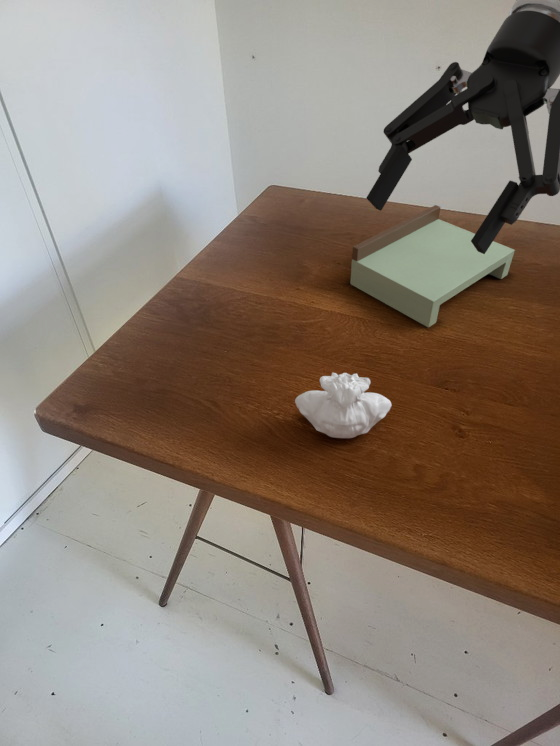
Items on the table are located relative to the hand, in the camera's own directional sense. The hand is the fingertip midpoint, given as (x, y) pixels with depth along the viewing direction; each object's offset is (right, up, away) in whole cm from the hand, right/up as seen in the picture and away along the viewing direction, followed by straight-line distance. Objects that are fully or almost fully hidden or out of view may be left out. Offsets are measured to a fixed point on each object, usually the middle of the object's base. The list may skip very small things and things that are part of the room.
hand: (421, 225), depth 55 cm
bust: (-7, -23, +12) cm, 27 cm away
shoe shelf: (+11, +1, +36) cm, 38 cm away
